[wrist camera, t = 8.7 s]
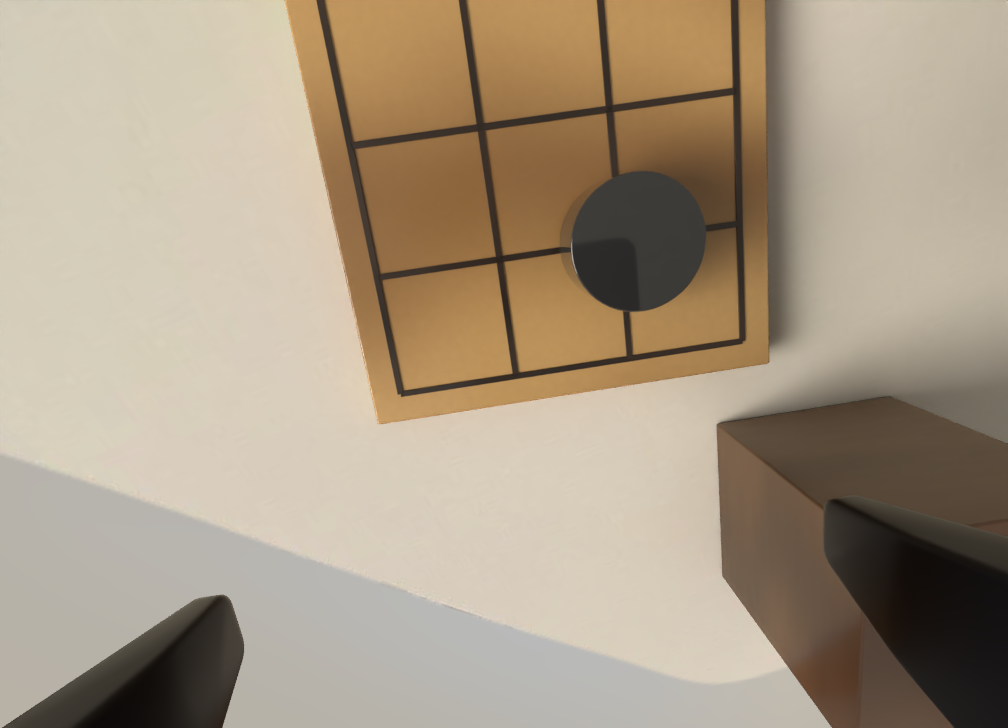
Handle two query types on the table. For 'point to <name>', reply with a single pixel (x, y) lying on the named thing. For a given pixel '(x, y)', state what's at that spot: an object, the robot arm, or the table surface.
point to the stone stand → (799, 536)
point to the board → (533, 186)
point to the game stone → (633, 240)
